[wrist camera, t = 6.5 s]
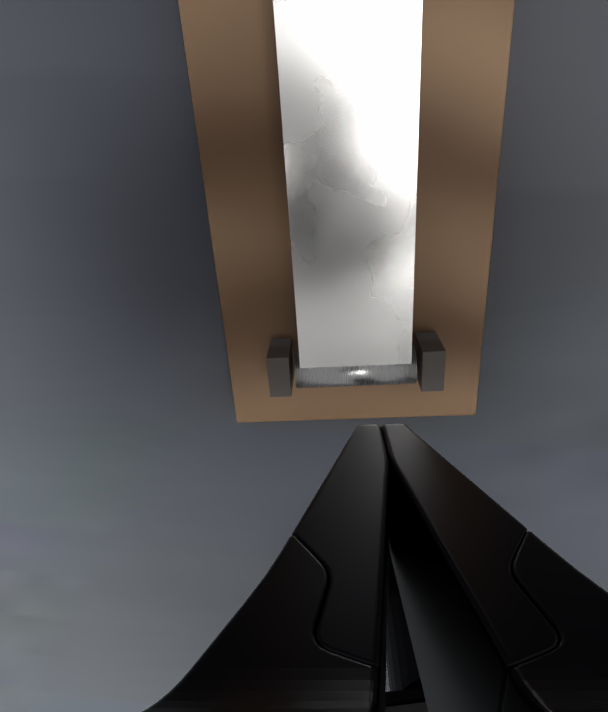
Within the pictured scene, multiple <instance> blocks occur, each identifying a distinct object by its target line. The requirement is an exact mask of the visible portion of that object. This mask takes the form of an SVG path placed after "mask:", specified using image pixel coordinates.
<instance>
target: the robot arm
mask: <svg viewBox="0 0 608 712" xmlns="http://www.w3.org/2000/svg"><path fill="white" fill-rule="evenodd" d="M386 659H387V667H388V676H389V685H390V691H389V692H385V686H386ZM143 712H608V592H606V591H605V590H603V589H602V588H601V587H599V586H598V585H597V584H595V583H594V582H593V581H591V580H590V579H589V578H587V577H586V576H585V575H583V574H582V573H580V572H579V571H578V570H577V569H575V568H574V567H573V566H572V565H570V564H569V563H568V562H567V561H565V560H564V559H563V558H562V557H560V556H559V555H558V554H557V553H556V552H554V551H553V550H552V549H551V548H549V547H548V546H547V545H546V544H545V543H543V542H542V541H541V540H540V539H539V538H538V537H536V536H535V535H534V534H533V533H532V532H527V528H526V527H524V526H523V525H522V524H521V523H520V522H519V521H517V520H516V519H515V518H514V517H513V516H511V515H510V514H509V513H508V512H507V511H506V510H504V509H503V508H502V507H501V506H500V505H499V504H497V503H496V502H495V501H494V500H493V499H492V498H490V497H489V496H488V495H487V494H486V493H484V492H483V491H482V490H481V489H480V488H479V487H477V486H476V485H475V484H474V483H473V482H472V481H470V480H469V479H468V478H467V477H466V476H465V475H463V474H462V473H461V472H460V471H459V470H457V469H456V468H455V467H454V466H453V465H452V464H450V463H449V462H448V461H447V460H446V459H445V458H443V457H442V456H441V455H440V454H439V453H438V452H436V451H435V450H434V449H433V448H432V447H430V446H429V445H428V444H427V443H426V442H425V441H423V440H422V439H421V438H420V437H419V436H418V435H416V434H415V433H414V432H413V431H412V430H411V429H409V428H408V427H407V426H406V425H404V424H385V425H383V426H382V427H380V426H379V425H359V426H357V427H356V429H355V430H354V432H353V434H352V435H351V437H350V439H349V440H348V442H347V444H346V445H345V447H344V449H343V450H342V452H341V454H340V455H339V457H338V459H337V460H336V462H335V464H334V465H333V467H332V469H331V470H330V472H329V474H328V475H327V477H326V479H325V480H324V482H323V484H322V485H321V487H320V489H319V490H318V492H317V493H316V495H315V497H314V498H313V500H312V502H311V503H310V505H309V507H308V508H307V510H306V512H305V513H304V515H303V517H302V518H301V520H300V522H299V523H298V525H297V527H296V528H295V530H294V532H293V533H292V536H291V537H290V538H289V540H288V541H287V543H286V545H285V546H284V548H283V550H282V551H281V553H280V554H279V556H278V557H277V559H276V561H275V562H274V564H273V565H272V567H271V568H270V570H269V571H268V573H267V574H266V576H265V577H264V578H263V580H262V581H261V582H260V584H259V585H258V586H257V588H256V589H255V590H254V591H253V593H252V594H251V595H250V597H249V598H248V599H247V601H246V602H245V603H244V604H243V606H242V607H241V608H240V609H239V611H238V612H237V613H236V614H235V615H234V617H233V618H232V619H231V620H230V622H229V623H228V624H227V625H226V626H225V628H224V629H223V630H222V631H221V633H220V634H219V635H218V636H217V638H216V639H215V640H214V641H213V642H212V644H211V645H210V646H209V647H208V649H207V650H206V651H205V652H204V654H203V655H202V656H201V657H200V658H199V660H198V661H197V662H196V663H195V665H194V666H193V667H192V668H191V669H190V671H189V672H188V673H187V674H186V675H185V677H184V678H183V679H182V680H181V681H180V682H179V683H178V684H177V685H176V686H175V687H174V688H173V689H172V690H171V691H170V692H169V693H168V694H167V695H165V696H164V697H163V698H162V699H161V700H159V701H158V702H157V703H155V704H154V705H153V706H151V707H150V708H148V709H146V710H145V711H143Z"/></svg>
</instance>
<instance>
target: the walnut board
mask: <svg viewBox="0 0 608 712" xmlns="http://www.w3.org/2000/svg"><path fill="white" fill-rule="evenodd" d="M514 1H515V0H423V2H422V34H421V67H420V100H419V132H418V165H417V197H416V230H415V263H414V295H413V328H412V346H414V348H415V351H416V357H417V381H416V384H402V385H375V386H348V387H321V388H296V382H295V365H294V358H295V351H299V347H298V333H297V320H296V306H295V293H294V279H293V266H292V252H291V238H290V225H289V211H288V198H287V184H286V171H285V157H284V144H283V130H282V116H281V103H280V89H279V76H278V62H277V49H276V35H275V22H274V8H273V0H178V3H179V10H180V18H181V25H182V32H183V39H184V46H185V53H186V60H187V68H188V75H189V82H190V89H191V96H192V103H193V110H194V118H195V125H196V132H197V139H198V146H199V153H200V161H201V168H202V175H203V182H204V189H205V196H206V203H207V211H208V218H209V225H210V232H211V239H212V246H213V254H214V261H215V268H216V275H217V282H218V289H219V296H220V304H221V311H222V318H223V325H224V332H225V339H226V347H227V354H228V361H229V368H230V375H231V382H232V389H233V397H234V404H235V411H236V418H237V423H239V422H269V421H299V420H329V419H358V418H388V417H418V416H448V415H475V413H476V403H477V392H478V382H479V371H480V361H481V350H482V339H483V329H484V318H485V308H486V297H487V287H488V276H489V265H490V255H491V244H492V234H493V223H494V213H495V202H496V192H497V181H498V170H499V160H500V149H501V139H502V128H503V118H504V107H505V97H506V86H507V75H508V65H509V54H510V44H511V33H512V23H513V12H514Z"/></svg>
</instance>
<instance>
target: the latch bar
mask: <svg viewBox="0 0 608 712" xmlns="http://www.w3.org/2000/svg"><path fill="white" fill-rule="evenodd" d="M422 2H423V0H273V8H274V22H275V35H276V49H277V62H278V76H279V89H280V103H281V116H282V130H283V144H284V157H285V171H286V184H287V198H288V211H289V225H290V238H291V252H292V266H293V279H294V293H295V306H296V320H297V333H298V347H299V351H295V358H294V365H295V382H296V388H321V387H348V386H375V385H402V384H416V381H417V357H416V351H415V348H414V346H412V328H413V295H414V263H415V230H416V197H417V165H418V132H419V100H420V67H421V34H422Z"/></svg>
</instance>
